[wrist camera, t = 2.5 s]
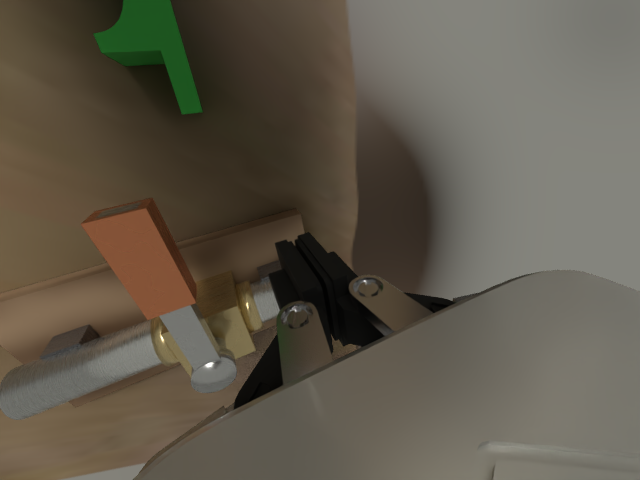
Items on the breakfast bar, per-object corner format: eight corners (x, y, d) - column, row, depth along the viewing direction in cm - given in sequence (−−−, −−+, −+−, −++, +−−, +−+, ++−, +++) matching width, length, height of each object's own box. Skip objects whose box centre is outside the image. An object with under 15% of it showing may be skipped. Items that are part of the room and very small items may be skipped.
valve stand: (-22, 299, 18) (-39, 313, 17) (295, 208, 24) (300, 213, 23) (82, 392, 24) (75, 407, 23) (314, 299, 30) (319, 307, 29)
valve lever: (237, 350, 20) (242, 382, 18) (201, 365, 19) (200, 401, 17) (160, 189, 13) (151, 206, 11) (99, 203, 12) (74, 225, 10)
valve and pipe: (18, 340, 19) (-36, 408, 14) (297, 247, 24) (316, 276, 20) (64, 381, 21) (29, 447, 17) (306, 288, 27) (324, 320, 23)
